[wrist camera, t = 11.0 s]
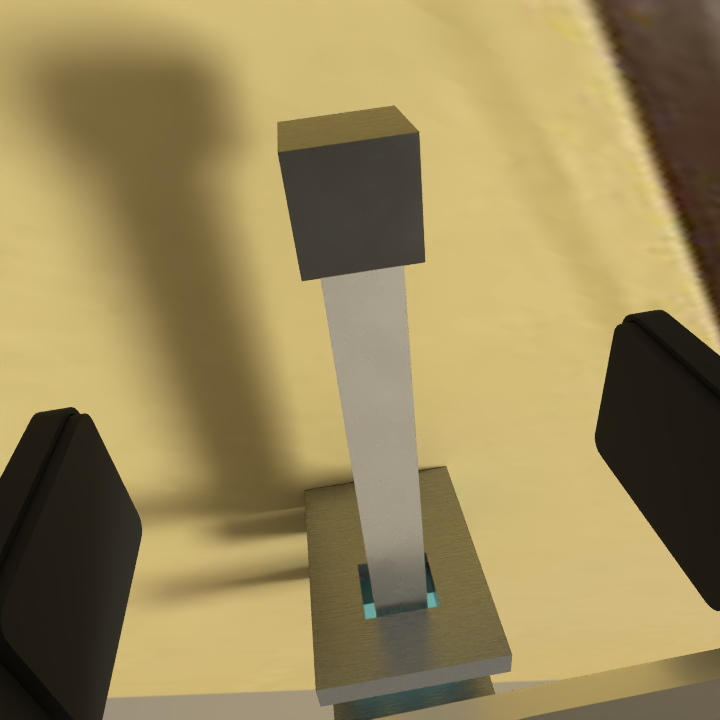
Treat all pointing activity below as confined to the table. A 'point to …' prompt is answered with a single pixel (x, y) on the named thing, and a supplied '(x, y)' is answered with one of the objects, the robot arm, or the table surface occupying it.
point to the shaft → (367, 315)
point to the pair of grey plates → (403, 630)
